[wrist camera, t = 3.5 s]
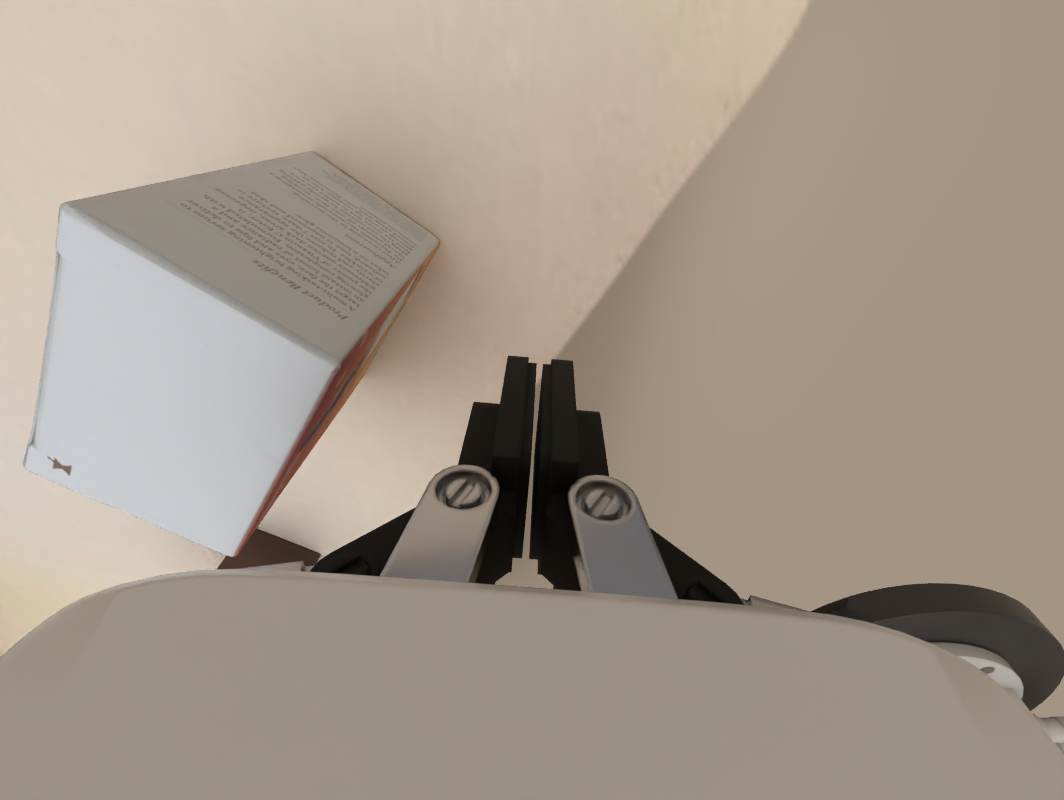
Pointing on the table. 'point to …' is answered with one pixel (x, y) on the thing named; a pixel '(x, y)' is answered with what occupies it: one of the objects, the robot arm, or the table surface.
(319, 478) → the table surface
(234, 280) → the small box
